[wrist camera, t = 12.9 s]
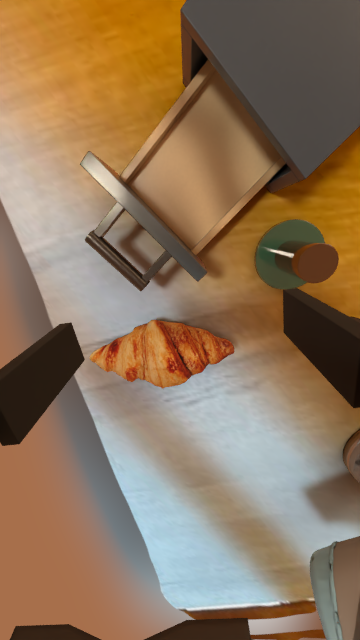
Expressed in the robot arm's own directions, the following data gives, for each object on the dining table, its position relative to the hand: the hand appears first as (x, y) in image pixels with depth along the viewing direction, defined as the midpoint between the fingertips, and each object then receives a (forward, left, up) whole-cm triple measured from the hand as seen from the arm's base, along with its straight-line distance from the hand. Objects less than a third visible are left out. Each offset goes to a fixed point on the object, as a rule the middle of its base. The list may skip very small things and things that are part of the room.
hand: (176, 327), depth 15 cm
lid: (-8, -11, -19) cm, 24 cm away
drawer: (+7, -8, -18) cm, 20 cm away
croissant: (-5, +10, -19) cm, 22 cm away
